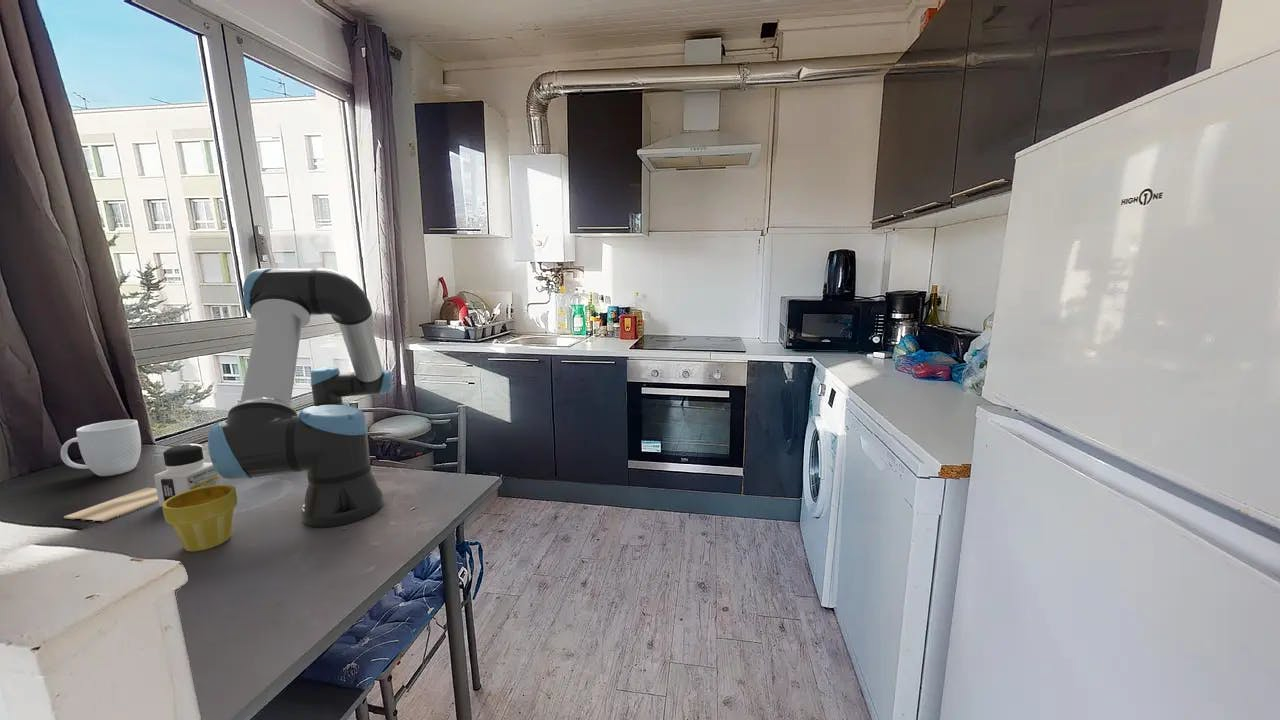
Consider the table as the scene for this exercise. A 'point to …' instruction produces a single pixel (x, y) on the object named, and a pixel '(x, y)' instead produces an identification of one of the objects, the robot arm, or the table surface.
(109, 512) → the wooden board
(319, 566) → the table surface
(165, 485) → the container
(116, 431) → the mug
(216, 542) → the plant pot
